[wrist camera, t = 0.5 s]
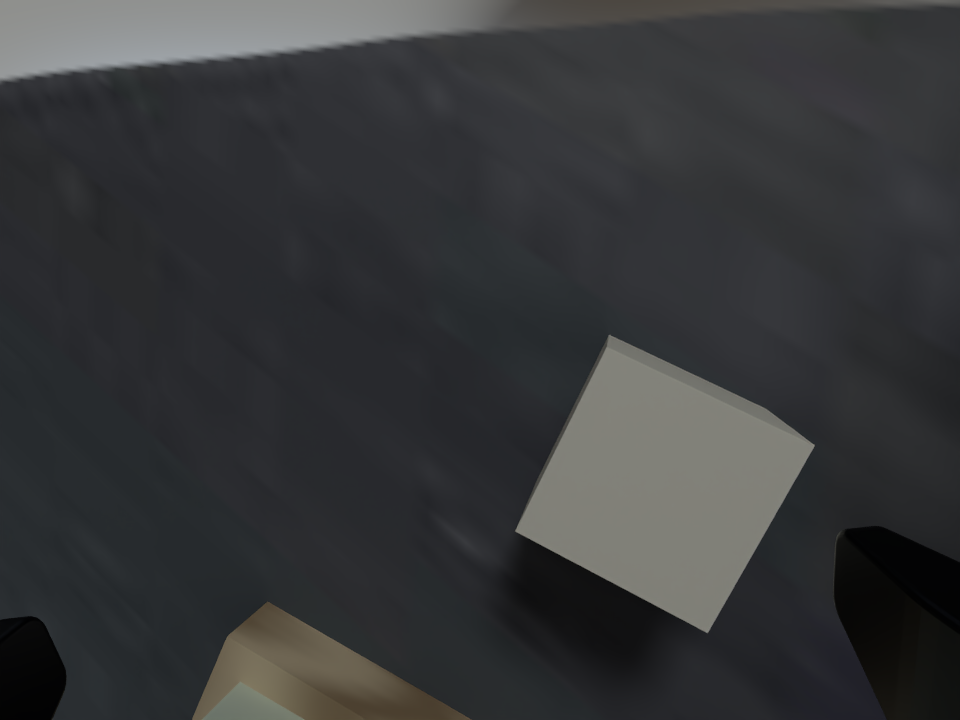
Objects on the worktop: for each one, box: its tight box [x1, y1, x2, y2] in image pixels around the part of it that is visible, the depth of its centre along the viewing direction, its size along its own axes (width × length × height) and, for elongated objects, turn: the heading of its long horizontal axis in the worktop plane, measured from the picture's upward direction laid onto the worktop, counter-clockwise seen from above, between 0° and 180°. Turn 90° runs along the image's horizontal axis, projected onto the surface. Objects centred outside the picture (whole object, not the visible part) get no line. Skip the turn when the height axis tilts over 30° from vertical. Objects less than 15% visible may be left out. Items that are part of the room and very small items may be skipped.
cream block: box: [515, 335, 815, 633], centre depth 18 cm, size 5×5×5 cm
